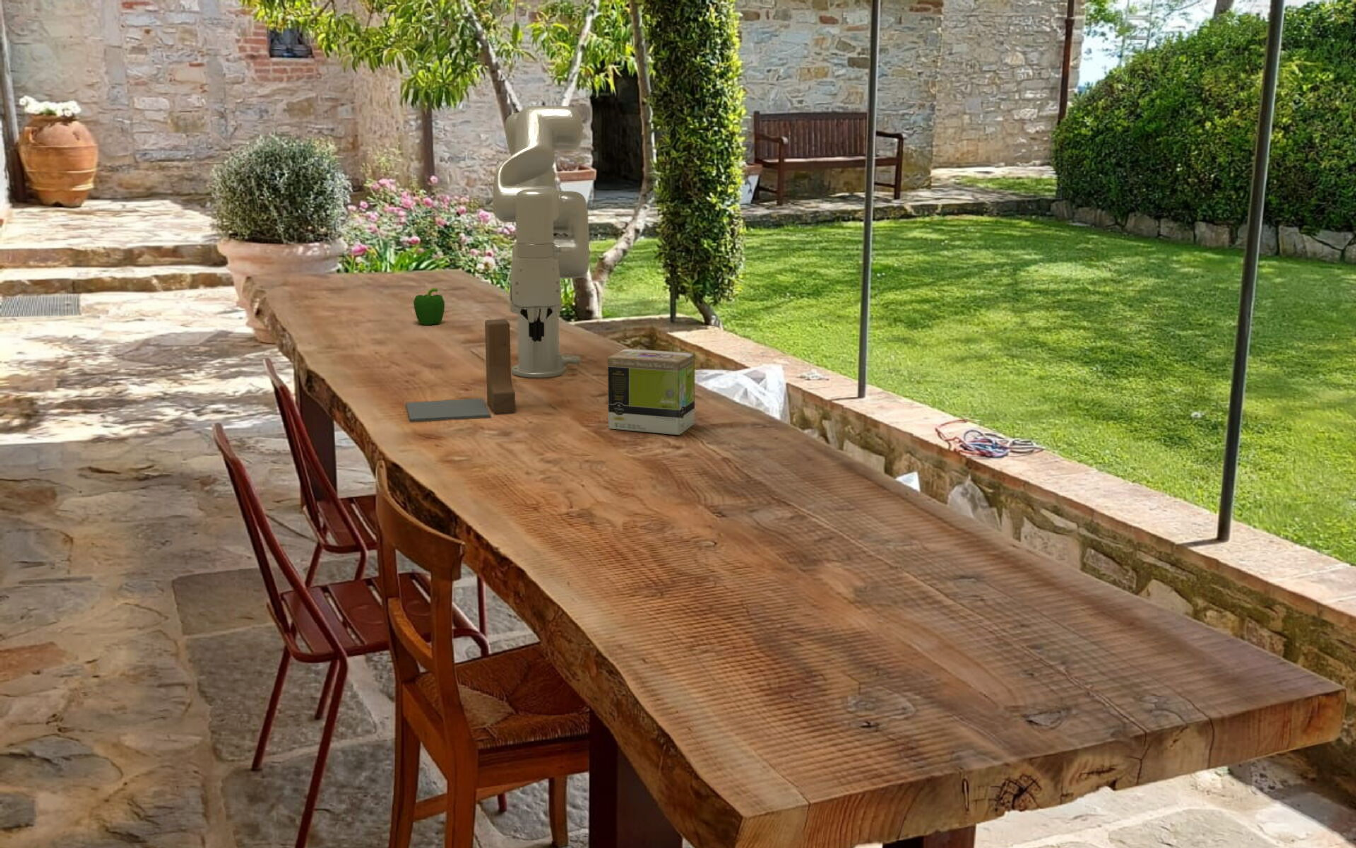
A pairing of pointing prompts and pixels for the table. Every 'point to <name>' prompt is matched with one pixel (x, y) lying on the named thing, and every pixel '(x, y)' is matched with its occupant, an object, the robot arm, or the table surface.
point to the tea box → (651, 391)
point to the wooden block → (499, 367)
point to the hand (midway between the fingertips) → (536, 340)
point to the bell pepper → (429, 308)
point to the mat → (447, 410)
